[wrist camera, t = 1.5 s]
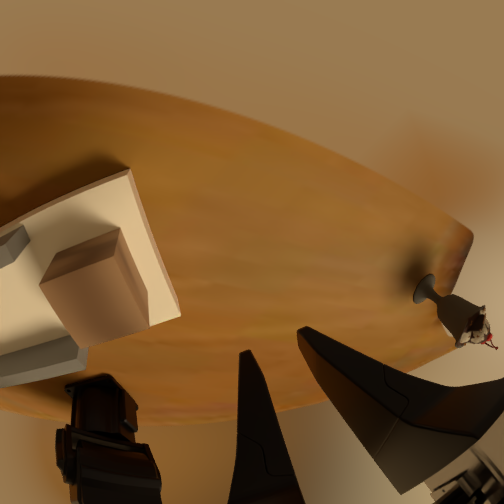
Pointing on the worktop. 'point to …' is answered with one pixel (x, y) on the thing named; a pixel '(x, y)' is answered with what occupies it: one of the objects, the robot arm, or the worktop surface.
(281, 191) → the worktop surface
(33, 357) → the lane walls
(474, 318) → the sundae
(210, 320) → the worktop surface
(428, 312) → the worktop surface
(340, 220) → the worktop surface
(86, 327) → the walnut block
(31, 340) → the deck
